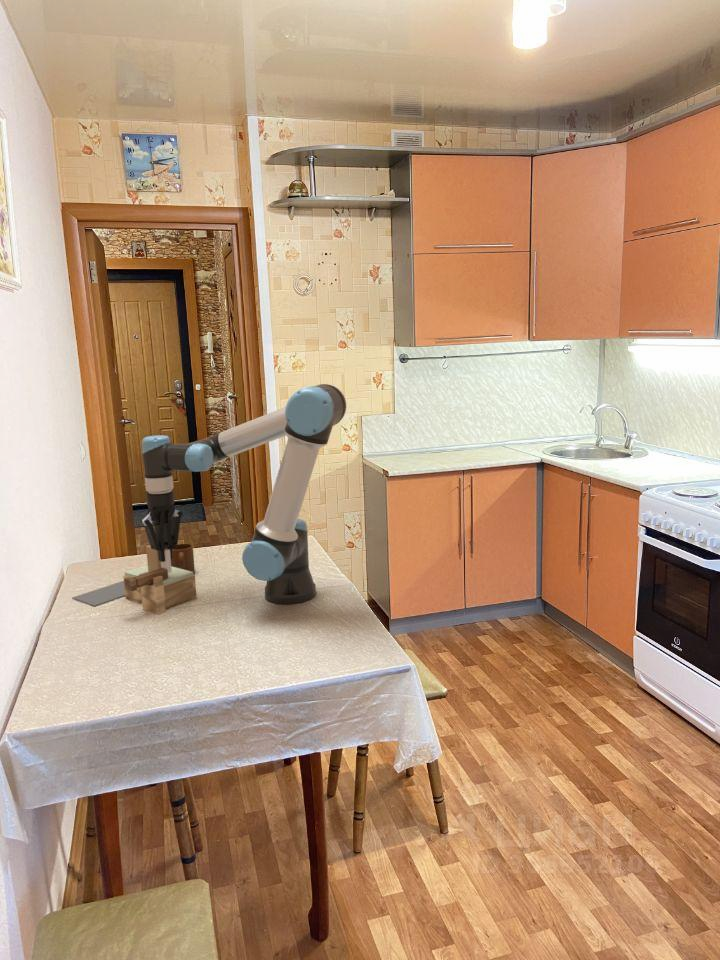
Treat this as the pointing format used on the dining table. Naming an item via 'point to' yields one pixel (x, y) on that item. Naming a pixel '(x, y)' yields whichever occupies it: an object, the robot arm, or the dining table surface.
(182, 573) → the lid
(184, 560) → the mug
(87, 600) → the mat
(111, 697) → the dining table surface
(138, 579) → the bar
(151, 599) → the toolbox
